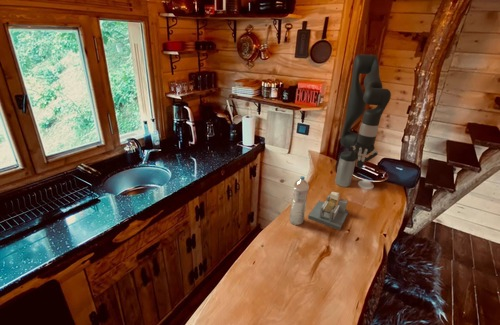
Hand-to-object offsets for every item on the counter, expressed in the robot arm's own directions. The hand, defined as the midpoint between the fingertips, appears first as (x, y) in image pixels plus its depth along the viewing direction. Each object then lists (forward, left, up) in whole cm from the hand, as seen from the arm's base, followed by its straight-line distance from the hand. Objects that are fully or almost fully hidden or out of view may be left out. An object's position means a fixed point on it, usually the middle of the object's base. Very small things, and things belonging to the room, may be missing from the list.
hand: (359, 167), depth 131 cm
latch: (+3, -8, -19) cm, 21 cm away
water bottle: (+22, -20, -27) cm, 40 cm away
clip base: (+9, -8, -27) cm, 29 cm away
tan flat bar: (+8, -8, -21) cm, 24 cm away
